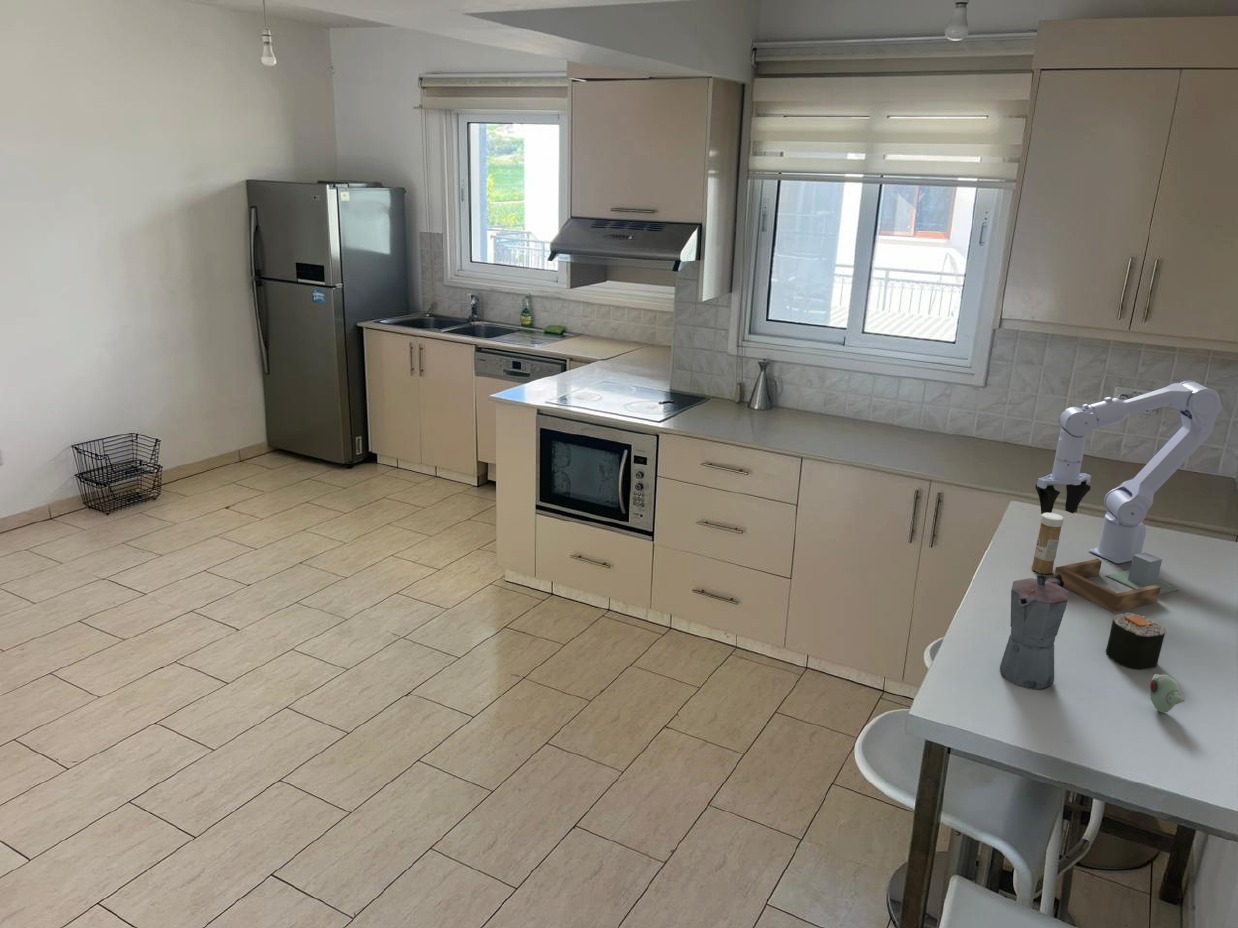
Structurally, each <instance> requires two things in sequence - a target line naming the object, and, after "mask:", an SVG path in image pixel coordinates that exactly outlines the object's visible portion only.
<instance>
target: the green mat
mask: <svg viewBox="0 0 1238 928" xmlns="http://www.w3.org/2000/svg"><path fill="white" fill-rule="evenodd" d="M1129 572H1130V569H1128V570H1122V571H1118V572H1114V573H1108V574H1105V577H1107V578H1109V579H1111V580H1113V581H1116V582H1117V583H1120V584H1123V585H1124V586H1126V587H1129V588H1131V589H1132V590H1134V589H1139V588H1143V586H1141V585H1139V584H1136V583H1134V582H1132V581H1130V580H1128V577H1129ZM1155 585H1158V586H1160V587H1161V589H1160V593H1159V595H1164V594H1167V593H1172V592H1175V591H1179V588H1177V587H1175V586H1173V585H1170V584H1168V583H1166V582H1163V581H1161V580H1159V579H1157V583H1156V584H1155Z"/></svg>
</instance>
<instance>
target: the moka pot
mask: <svg viewBox="0 0 1238 928" xmlns="http://www.w3.org/2000/svg"><path fill="white" fill-rule="evenodd" d="M1047 577H1048V576H1046V575H1045V574H1038V575H1036V578H1034V577H1029V578H1024V579H1016V580H1014V581H1013V582H1012V587H1011V589H1010V592H1011V593H1010V628H1011V629H1010V635H1009V637H1008V640H1007V643H1006V646H1005V650H1004V652H1003V655H1002V658H1001V662H1000V665H999V672H1000V675H1001V677H1003V678H1004V679H1005V680H1006V681H1008V682H1009V683H1011V684H1013V685H1015V686H1019V687H1021V688H1025V689H1031V690H1032V689H1033V690H1040V689H1043V690H1044V689H1046V688H1049V687H1050V686H1051V685H1052V684H1053V683H1054V682H1055V641H1056V637H1057V635H1058V634H1059V633H1058V632H1059V630H1060V627H1061V623H1062V620H1063V618H1064V614H1065V611H1066V609H1067V605H1068V602H1069V593H1070V591H1069V590H1068V589H1067V588H1065V587H1063V586H1064V582H1063V581H1062V577H1061V575H1060V574H1058V575H1057V576H1056V577H1055V578H1054V577H1050V578H1047Z"/></svg>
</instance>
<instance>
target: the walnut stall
mask: <svg viewBox="0 0 1238 928" xmlns="http://www.w3.org/2000/svg"><path fill="white" fill-rule="evenodd" d="M1102 561H1103V560H1101V559H1098V558H1095V559H1090V560H1086V561H1080V562H1075V563H1072V564H1066V565H1065V564H1064V565H1062V566H1061V565H1060V566H1056V567H1055V571H1054V575H1053V578H1055V577H1056V576H1057V575H1058V574H1060V575H1061V577H1062V581H1063V582H1064V586H1063V588H1064V589H1066V590H1068V591H1071V590H1072V591H1071V592H1073V591H1074V592H1073V593H1075V592H1076V593H1075V594H1077V593H1078V595H1079V596H1082V597H1083V598H1084V599H1085V598H1086V599H1087V600H1089V601H1092V602H1093V603H1096V604H1097V605H1100V606H1101V607H1104V608H1106V609H1108V610H1110V611H1112V612H1114V613H1116V612H1118V613H1119V612H1121V611H1125V610H1129V609H1134V608H1138V607H1142V606H1145V605H1146V606H1147V605H1150V604H1154V603H1157V602H1158V600H1159V593H1160V589H1161V587H1160V586H1158V585H1151V586H1147V587H1143V588H1139V589H1131V590H1127V591H1126V590H1125V591H1121V592H1118V593H1117V592H1115V591H1113V590H1111V589H1109V588H1107V587H1105V586H1102V585H1100V584H1099V583H1096V582H1094V581H1092V580H1090V579H1088V578H1091V577H1096V576H1099V575H1100V572H1101V568H1102V564H1103V563H1102Z"/></svg>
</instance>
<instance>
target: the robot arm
mask: <svg viewBox="0 0 1238 928" xmlns="http://www.w3.org/2000/svg"><path fill="white" fill-rule="evenodd" d="M1221 400H1222V399H1221V397H1220V395H1219V393H1218V392H1217V391H1216V390H1214V389H1211V388H1209V387H1206V386H1204V385H1202V384H1200V383H1198V381H1195V380H1184V381H1181V382H1175V383H1171V384H1169V385H1167V386H1165V387H1162V388H1159V389H1156V390H1153V391H1149V392H1146V393H1144V394H1141V395H1138V396H1134V397H1132V398H1129V399H1125V400H1122V399H1119V398H1117V397H1113V398H1112V397H1111V396H1108V397H1107V396H1106V397H1104V398H1103V401H1098V402H1095V403H1091V404H1087V403H1084V404H1082V407H1081V408H1080V407H1077V406H1071V407H1068V408H1065V409H1064V411H1062V413H1061V414H1060V416H1058V419H1057V420H1058V423H1059V426H1060V431H1059V437H1058V441H1057V446H1056V451H1055V456H1054V462H1053V465H1052V466H1053V467H1052V472H1051V473H1050V474H1048V475H1046V476H1043V477H1038V478H1037V482H1036V484H1035V490H1036V493H1037V495H1038V498H1039V503H1040V514H1041V515H1042V514H1043V513H1053V508H1054V505H1055V503H1056V501H1057V498H1058V496H1059V495H1060V493H1061V492H1060V491H1059V490H1056V488H1055V487H1059V486H1065V487H1066V497H1065V498H1066V500H1065V506H1064V507H1065V508H1064V510H1065V511H1066V512H1068V513H1071V514H1075V512H1076V510H1077V509H1078V507H1079V505H1080V503H1081V501H1082V500H1083V498H1084V497H1085V496H1086V495H1087V493H1089V491H1091V485H1089V484H1091V480H1092V475H1090V474H1089V473H1088V474H1087V473H1085V472H1082V473H1081V469H1082V464H1083V463H1082V462H1083V458H1084V452H1085V448H1086V444H1087V442H1086V441H1087V437H1088V435H1090V434H1091V433H1092V432H1093V430H1098V429H1101V428H1104V427H1108V426H1112V425H1115V424H1119V423H1123V422H1124V421H1125V420H1126V419H1127V418H1128V416H1130V415H1133V414H1138V413H1142V412H1147V411H1152V410H1157V409H1161V408H1164V407H1165V408H1166V407H1168V408H1171V409H1175V410H1178V411H1179V413H1180V418H1181V423H1182V425H1181V427H1180V428H1179V430H1177V432H1176V433H1175V434H1174V435H1173V436H1171V438H1170V439H1169V440H1168V441H1167V442H1166V443H1165V444H1164V446H1162V448H1161V449H1160V450H1159V451H1158V452H1156V453H1155V455H1154V456H1153V457H1152V458H1151V459H1150V460H1149V461H1148V462H1147V463H1146V465H1144V466H1143V468H1142V469H1141V470H1140V471H1139V472H1137V474H1136V475H1135V476H1134V477H1133V478H1131V479H1128V480H1125V481H1123V482H1122V483H1120V485H1119V486H1117V487H1115V488H1113V489H1111V490H1109V491H1108V492H1107V493H1106V495H1105V496H1104V499H1103V505H1104V507H1105V508H1106V513H1105V515H1104V520H1103V524H1102V529H1101V534H1100V537H1099V542H1098V547H1095V548H1089V550H1088V552H1090V553H1092V554H1094V555H1096V556H1099V557H1101V558H1104V559H1106V560H1108V561H1111V562H1113V563H1115V564H1124V563H1127V562H1132V559H1133V555H1136V554H1141V553H1143V552H1142V551H1143V548H1144V543H1145V540H1146V535H1147V529H1146V525H1145V524H1144V523H1143V521H1144V520H1145V518H1146V516H1147V513H1148V512H1149V511H1148V510H1150V508H1151V507H1152V506H1153V503H1154V495H1155V493H1156V492H1157V491H1158V490H1159V489H1160V488H1161V487H1162V486H1163V485H1164V484H1165V483H1166V482H1167V481H1168V480H1169V479H1170V478H1171V476H1172V475H1173V474H1175V473H1176V471H1177V470H1178V469H1179V468H1180V467H1181V466H1182V465H1183V464H1184V463H1185V462H1186V461H1187V460H1188V459H1189V458H1190V456H1191V455H1193V454H1194V452H1196V450H1198V448H1199V447H1200V446H1201V445H1202V444H1204V442H1205V441H1206V440H1207V439H1208V438H1209V437H1210V436H1211V435H1212V433H1213V430H1214V427H1215V424H1216V420H1217V416H1218V414H1219V413H1220V412H1221V411H1222V410H1223V405H1222V401H1221Z"/></svg>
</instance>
